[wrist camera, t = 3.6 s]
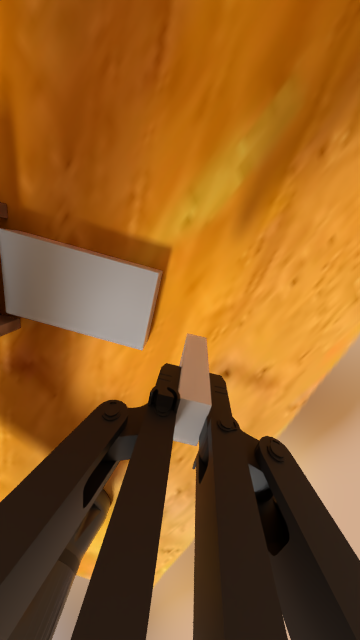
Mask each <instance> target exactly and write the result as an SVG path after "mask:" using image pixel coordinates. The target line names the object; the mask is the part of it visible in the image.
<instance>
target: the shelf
mask: <svg viewBox="0 0 360 640" xmlns="http://www.w3.org/2000/svg"><path fill="white" fill-rule="evenodd" d="M0 217H3V218H8V215H7V207H6V204H4V203H0ZM19 328H21V326H20V319H19V318H15V317H11V316H7V315H2V314H0V337H1V336H3V335H5V334H8V333H10V332H12V331H15V330H17V329H19Z"/></svg>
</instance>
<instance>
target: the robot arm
mask: <svg viewBox="0 0 360 640" xmlns="http://www.w3.org/2000/svg"><path fill="white" fill-rule="evenodd" d="M173 440H174V441H178V442H182V443H186V444H190V445H194V446H197V444H198V441H199V451H198V453H197V456H196V458H195V461H194V464H193V468H192V469H195V467H196V505H195V562H194V564H195V565H194V566H195V567H194V621H193V640H288V638H287V634H286V630H285V625H284V621H285V624H286V627H287V630H288V633H289V636H290V638H291V640H360V560H359V559H358V557H357V555H356V554H355V552H354V551H353V549H352V548H351V546H350V545H349V543H348V541H347V540H346V539H345V537H344V535H343V534H342V532H341V531H340V529H339V528H338V526H337V524H336V523H335V521H334V520H333V518H332V517H331V515H330V514H329V512H328V510H327V509H326V507H325V506H324V504H323V503H322V501H321V500H320V498H319V497H318V495H317V493H316V492H315V490H314V489H313V487H312V486H311V484H310V482H309V481H308V480H307V478H306V476H305V475H304V473H303V472H302V470H301V468H300V467H299V465H298V464H297V462H296V461H295V459H294V458H293V456H292V455H291V453H290V452H289V450H288V449H287V448H286V447H285V445H283V444H282V443H281V442H280V441H279V440H277V439H275V438H273V437H269V436H265V437H262V438H261V439H260V441H259V440H257V439H255V438H253V437H251V436H250V435H248V434H246V433H245V432H243V431H242V430H241V429H240V427H239V425H238V423H237V421H236V420H235V419H234V418H233V417H232V413H231V408H230V403H229V398H228V393H227V388H226V383H225V381H224V379H223V378H222V376H220V375H216V374H212V373H209V365H208V353H207V340H206V338H204V337H200V336H196V335H192V334H187V337H186V341H185V345H184V349H183V353H182V357H181V361H180V366H176V365H172V364H168V363H166V364H165V365H164V366H162V367H161V370H160V373H159V376H158V379H157V382H156V386H155V387H154V388H153V389H152V390H151V392H150V396H149V401H148V403H147V404H146V405H144V406H141V407H137V408H127V406H126V404H124V403H123V402H122V401H118V400H109V401H106V402H103V403H102V404H101V405H99V406H98V407H97V408H96V409H95V410H94V411H93V412H92V413H91V414H90V415H89V416H88V417H87V418H86V419H85V420H84V421H83V422H82V423H81V424H80V425H79V426H78V427H77V428H76V429H75V430H74V431H73V432H72V433H70V434H69V435H68V436H67V437H66V438H65V439H64V440H63V441H62V442H61V443H60V444H59V445H58V446H57V447H56V448H55V449H54V450H53V451H52V452H51V453H50V454H49V455H48V456H47V457H46V458H45V459H44V460H43V461H42V462H41V463H40V464H39V465H38V466H37V467H36V468H35V469H34V470H33V471H32V472H31V473H30V474H29V475H28V476H27V477H26V478H25V479H24V480H23V481H22V482H21V483H20V484H19V485H18V486H17V487H16V488H15V489H14V490H13V491H12V492H11V493H10V494H9V495H7V496H6V497H5V498H4V499H3V500H2V501H1V502H0V640H52V637H53V635H54V632H55V629H56V627H57V624H58V621H59V619H60V616H61V613H62V610H63V608H64V605H65V602H66V600H67V597H68V594H69V592H70V589H71V586H72V583H73V581H74V578H75V575H76V573H77V570H78V568H79V565H80V562H81V560H82V558H83V556H84V554H85V552H86V551H87V549H88V547H89V546H90V544H91V542H92V541H93V539H94V538H95V536H96V534H97V533H98V531H99V529H100V528H101V526H102V524H103V523H104V521H105V519H106V516H107V513H108V510H109V507H110V499H109V497H108V495H107V494H106V492H105V491H104V490H103V487H104V485H105V484H106V482H107V481H108V479H109V477H110V476H111V474H112V473H113V471H114V469H115V468H116V466H117V465H118V463H119V462H120V460H127V459H130V461H129V464H128V467H127V470H126V473H125V476H124V479H123V482H122V485H121V488H120V491H119V494H118V497H117V500H116V504H115V507H114V510H113V513H112V516H111V519H110V522H109V525H108V528H107V531H106V534H105V537H104V540H103V543H102V546H101V549H100V552H99V555H98V558H97V561H96V564H95V567H94V570H93V573H92V576H91V579H90V582H89V586H88V589H87V592H86V595H85V598H84V601H83V604H82V607H81V610H80V613H79V616H78V620H77V622H76V625H75V628H74V631H73V634H72V637H71V640H146V634H147V626H148V619H149V611H150V605H151V597H152V590H153V583H154V575H155V568H156V561H157V553H158V546H159V539H160V531H161V524H162V517H163V509H164V502H165V495H166V487H167V480H168V473H169V465H170V458H171V451H172V443H173ZM282 615H283V616H282ZM283 618H284V620H283Z"/></svg>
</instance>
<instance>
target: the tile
mask: <svg viewBox="0 0 360 640" xmlns="http://www.w3.org/2000/svg"><path fill="white" fill-rule="evenodd" d="M0 255H1V265H2V275H3V285H4V296H5V306H6V313H9V314H13V315H16V316H20V317H23V318H27V319H31V320H34V321H38V322H42V323H45V324H49V325H52V326H56V327H60V328H63V329H67V330H70V331H74V332H78V333H81V334H85V335H89V336H92V337H96V338H99V339H103V340H107V341H110V342H114V343H118V344H121V345H125V346H128V347H132V348H136V349H139V350H143V348H144V347H145V345H146V343H147V341H148V336H149V332H150V327H151V323H152V318H153V314H154V309H155V305H156V300H157V295H158V291H159V286H160V282H161V277H162V273H163V271H161V270H158V269H154V268H151V267H147V266H144V265H140V264H136V263H133V262H129V261H126V260H122V259H119V258H115V257H111V256H108V255H104V254H101V253H97V252H94V251H90V250H86V249H83V248H79V247H76V246H72V245H69V244H65V243H61V242H58V241H54V240H51V239H47V238H44V237H40V236H36V235H33V234H29V233H26V232H22V231H18V230H9V229H1V228H0Z"/></svg>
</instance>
